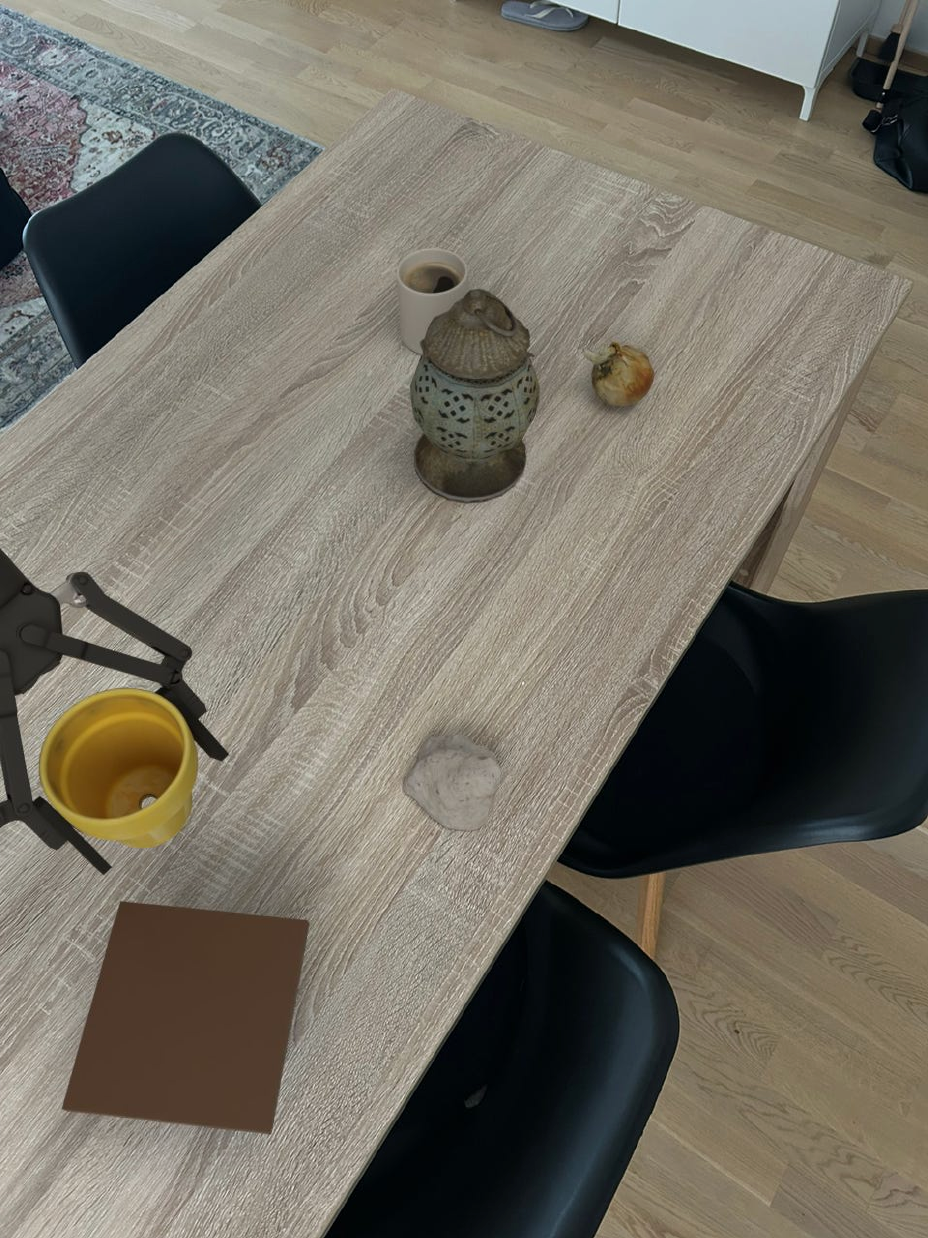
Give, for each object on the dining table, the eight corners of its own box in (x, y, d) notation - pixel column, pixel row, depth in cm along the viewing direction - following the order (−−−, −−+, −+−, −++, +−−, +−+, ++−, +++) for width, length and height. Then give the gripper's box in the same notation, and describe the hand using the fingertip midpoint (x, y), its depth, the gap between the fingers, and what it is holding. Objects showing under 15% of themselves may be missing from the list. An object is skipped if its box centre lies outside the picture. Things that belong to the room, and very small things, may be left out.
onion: (613, 427, 127) (620, 379, 120) (574, 387, 131) (580, 339, 124) (662, 402, 129) (672, 354, 122) (623, 364, 133) (630, 315, 126)
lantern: (439, 403, 130) (432, 232, 108) (548, 433, 127) (563, 264, 106) (396, 485, 123) (379, 320, 101) (509, 518, 120) (517, 356, 99)
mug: (445, 366, 133) (443, 304, 124) (383, 339, 136) (377, 277, 127) (489, 316, 138) (489, 253, 129) (428, 291, 141) (425, 228, 132)
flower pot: (237, 758, 81) (211, 700, 73) (191, 886, 76) (157, 838, 68) (112, 734, 83) (73, 673, 74) (59, 857, 77) (10, 807, 69)
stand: (98, 1124, 86) (61, 1109, 79) (149, 931, 95) (119, 901, 87) (287, 1146, 85) (268, 1133, 78) (321, 949, 94) (307, 919, 86)
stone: (393, 731, 103) (492, 714, 101) (407, 751, 107) (502, 734, 105) (396, 825, 97) (500, 808, 96) (411, 843, 101) (511, 827, 99)
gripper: (-223, 696, 59) (46, 948, 67) (93, 459, 69) (296, 705, 76) (-221, 688, 65) (24, 919, 73) (68, 472, 75) (257, 698, 83)
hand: (163, 810), depth 75 cm, fingers closed on flower pot, 10 cm apart
